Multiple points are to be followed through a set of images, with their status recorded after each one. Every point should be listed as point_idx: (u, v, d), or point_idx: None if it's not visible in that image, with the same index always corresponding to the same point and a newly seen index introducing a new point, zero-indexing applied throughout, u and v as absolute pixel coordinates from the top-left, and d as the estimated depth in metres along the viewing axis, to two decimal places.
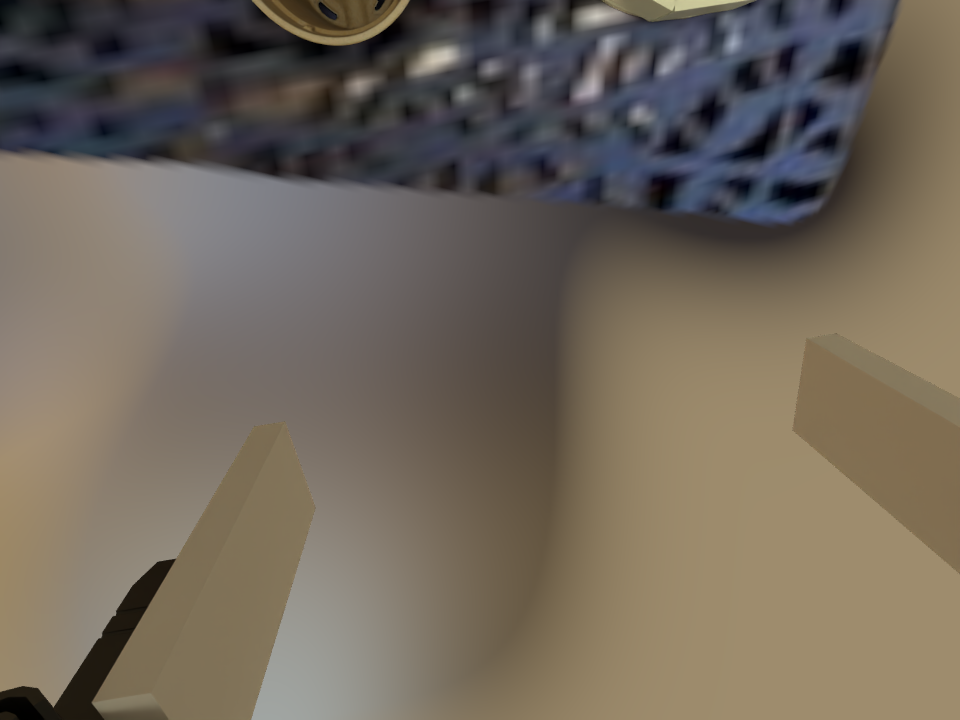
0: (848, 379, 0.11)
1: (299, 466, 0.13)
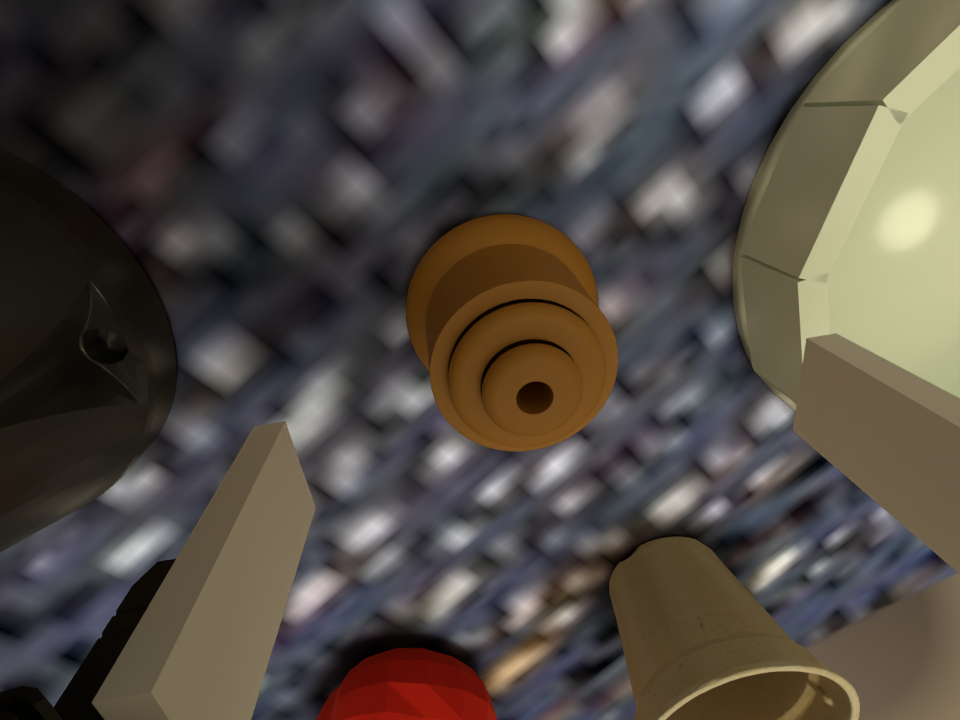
0: (848, 379, 0.11)
1: (298, 465, 0.13)
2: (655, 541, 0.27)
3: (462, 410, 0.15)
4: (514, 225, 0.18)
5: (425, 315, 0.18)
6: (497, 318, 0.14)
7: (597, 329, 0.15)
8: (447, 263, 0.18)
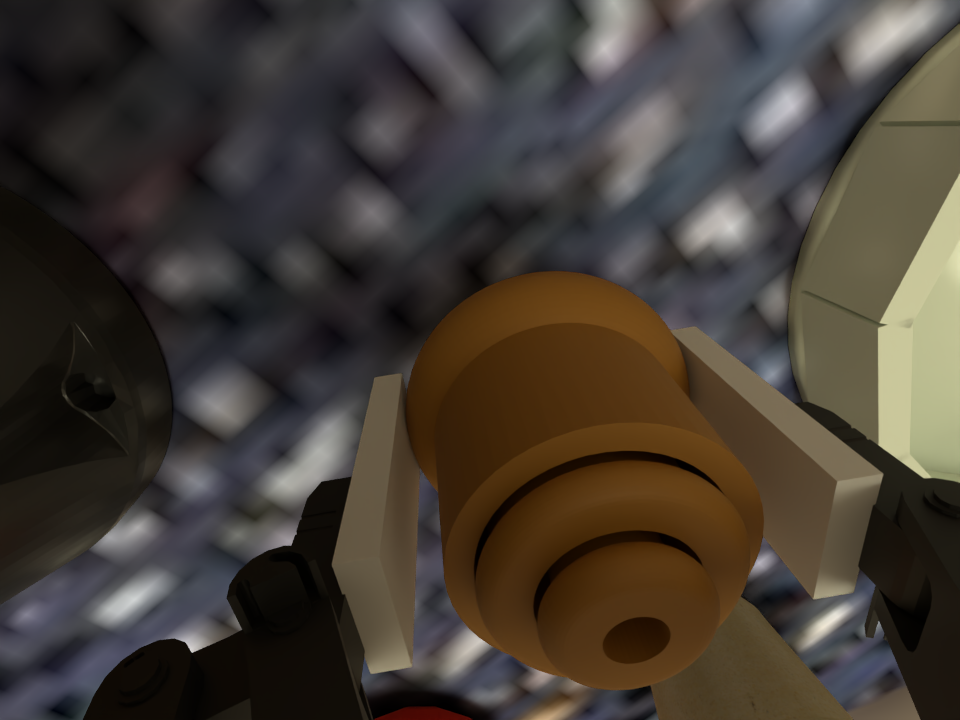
0: (692, 366, 0.13)
1: None
2: None
3: (500, 636, 0.09)
4: (572, 292, 0.12)
5: (434, 427, 0.12)
6: (569, 498, 0.08)
7: (734, 494, 0.09)
8: (469, 351, 0.11)
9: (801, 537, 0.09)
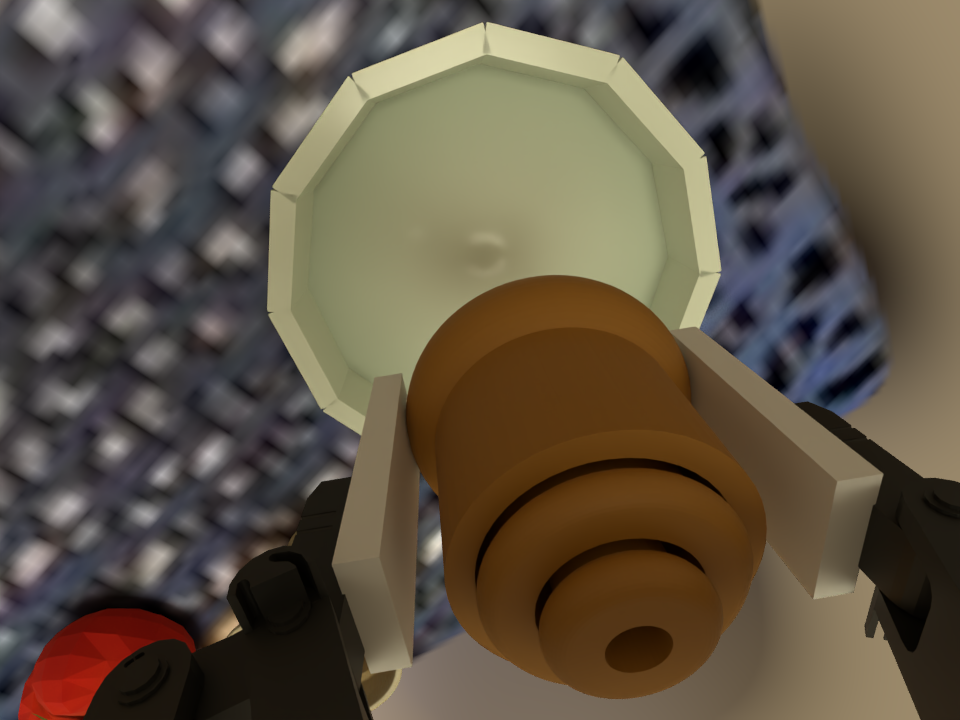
0: (693, 366, 0.13)
1: None
2: None
3: (501, 644, 0.09)
4: (573, 297, 0.12)
5: (435, 431, 0.12)
6: (571, 506, 0.07)
7: (737, 502, 0.09)
8: (469, 356, 0.11)
9: (801, 537, 0.09)
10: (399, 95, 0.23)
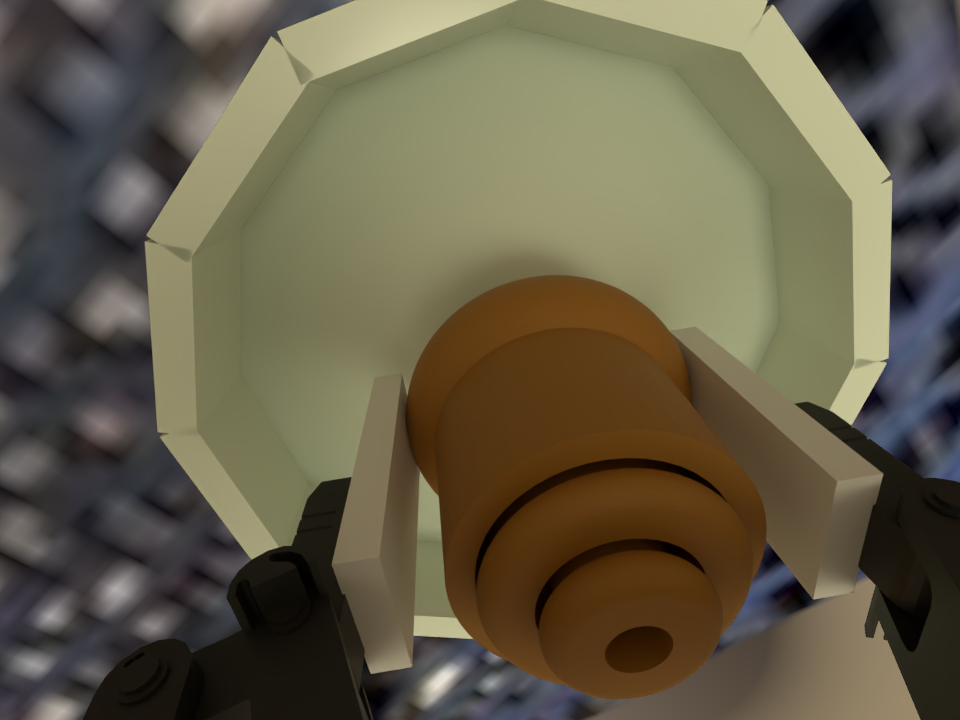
0: (692, 366, 0.13)
1: None
2: None
3: (501, 644, 0.09)
4: (573, 297, 0.12)
5: (435, 431, 0.12)
6: (571, 506, 0.07)
7: (736, 501, 0.09)
8: (469, 356, 0.11)
9: (801, 537, 0.09)
10: (374, 78, 0.14)
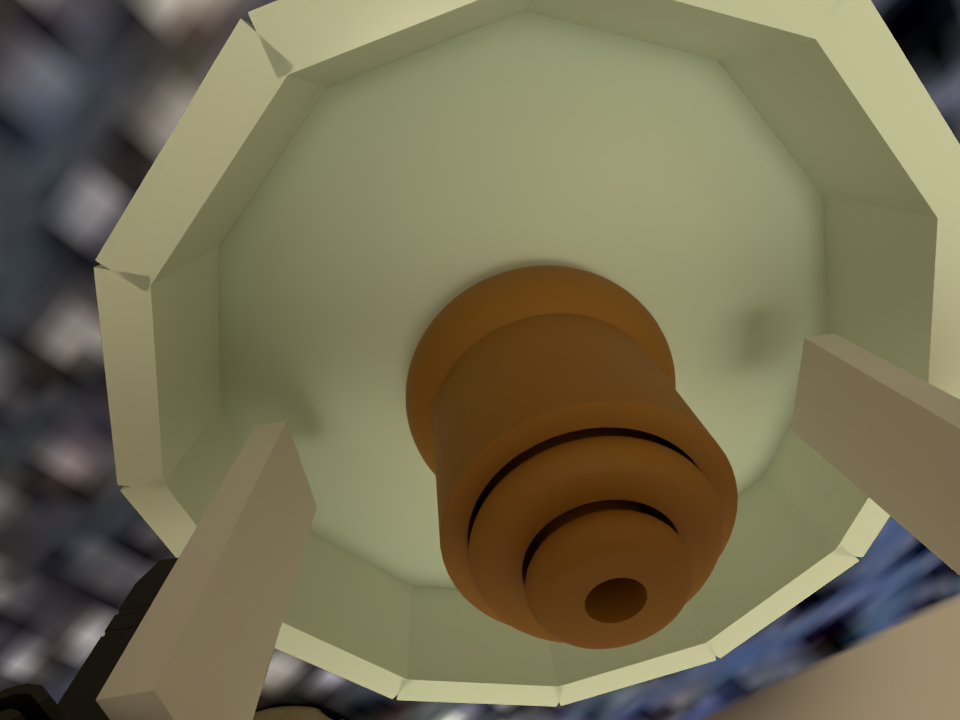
0: (846, 378, 0.11)
1: (300, 465, 0.13)
2: (259, 714, 0.22)
3: (491, 600, 0.09)
4: (562, 285, 0.12)
5: (432, 412, 0.13)
6: (553, 469, 0.08)
7: (709, 469, 0.09)
8: (464, 341, 0.12)
9: None
10: (370, 72, 0.12)
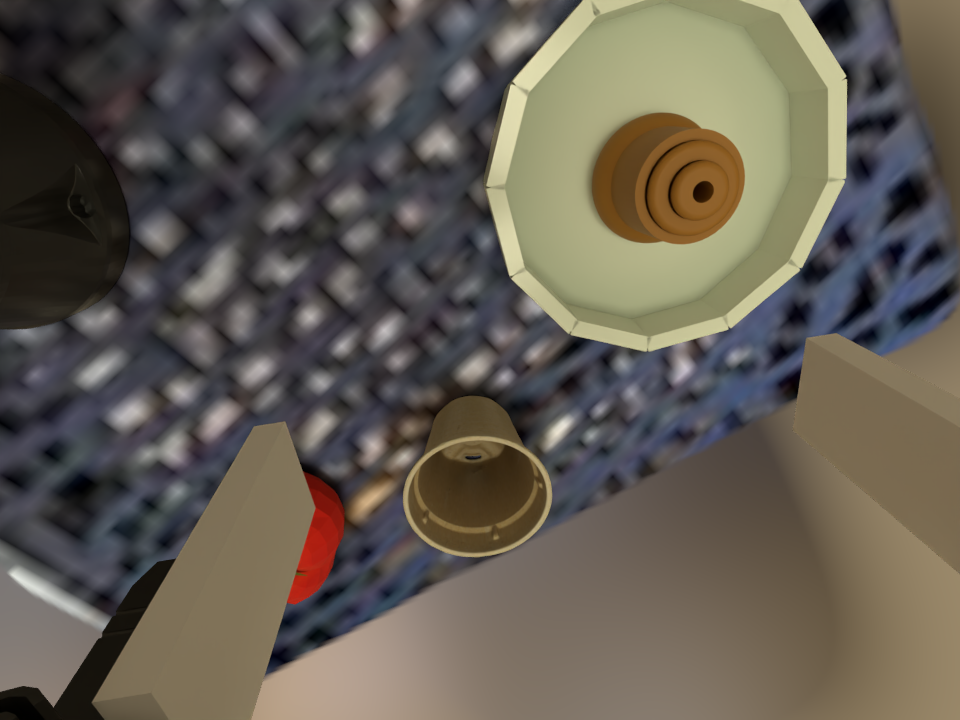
0: (847, 378, 0.11)
1: (298, 466, 0.13)
2: (461, 397, 0.39)
3: (655, 204, 0.26)
4: (673, 116, 0.29)
5: (613, 171, 0.29)
6: (685, 145, 0.25)
7: None
8: (631, 137, 0.29)
9: None
10: (600, 23, 0.29)
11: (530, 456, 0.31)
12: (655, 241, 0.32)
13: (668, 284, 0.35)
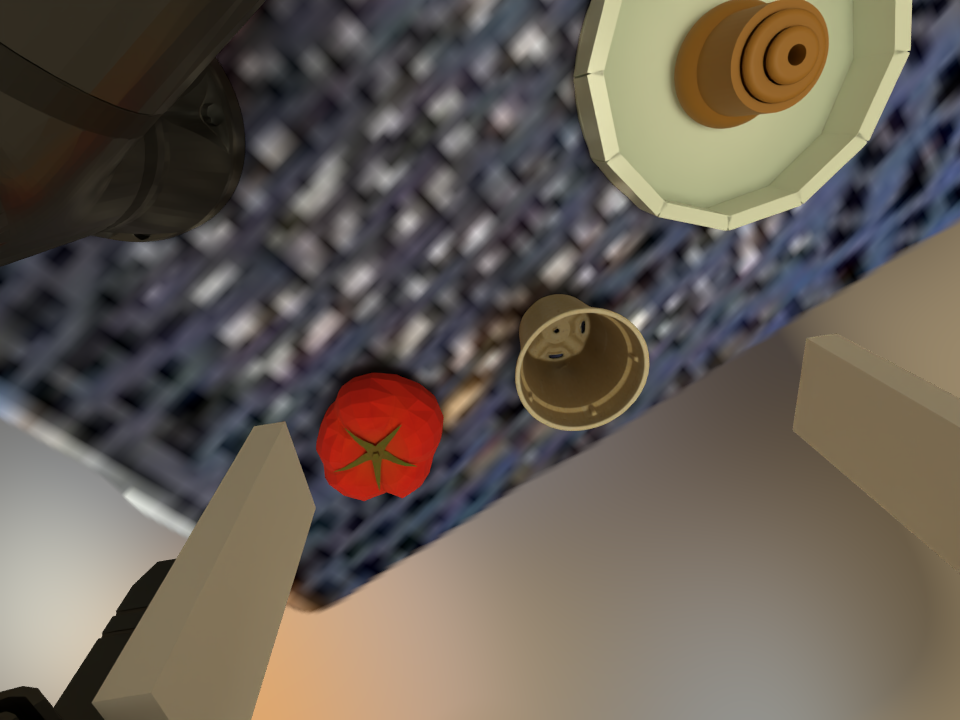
0: (848, 379, 0.11)
1: (299, 466, 0.13)
2: (546, 296, 0.42)
3: (751, 72, 0.29)
4: (753, 0, 0.32)
5: (699, 55, 0.32)
6: (779, 13, 0.28)
7: None
8: (716, 21, 0.32)
9: None
10: None
11: (631, 326, 0.34)
12: (733, 124, 0.35)
13: (739, 172, 0.38)
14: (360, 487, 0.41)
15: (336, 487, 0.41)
